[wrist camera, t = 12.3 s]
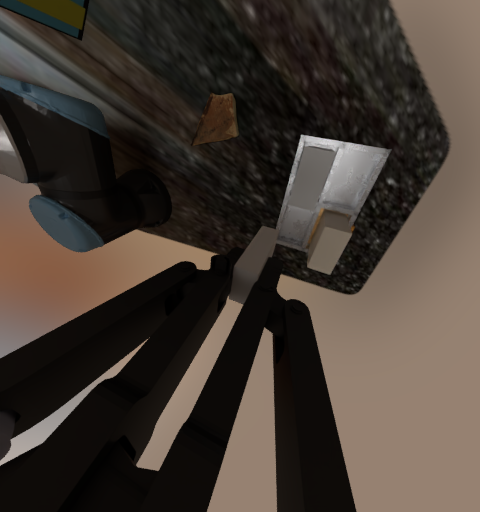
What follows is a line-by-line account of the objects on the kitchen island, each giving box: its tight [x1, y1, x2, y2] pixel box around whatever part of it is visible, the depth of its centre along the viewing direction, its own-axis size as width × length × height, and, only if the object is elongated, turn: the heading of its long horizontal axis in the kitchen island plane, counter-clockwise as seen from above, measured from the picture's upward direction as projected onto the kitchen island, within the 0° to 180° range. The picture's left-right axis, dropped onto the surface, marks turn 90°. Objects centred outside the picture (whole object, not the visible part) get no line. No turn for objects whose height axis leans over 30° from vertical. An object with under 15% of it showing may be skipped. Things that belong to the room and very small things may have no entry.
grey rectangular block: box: [288, 145, 336, 211], centre depth 31 cm, size 4×8×10 cm, turn 171°
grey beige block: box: [307, 209, 352, 275], centre depth 35 cm, size 4×8×10 cm, turn 171°
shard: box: [191, 93, 239, 146], centre depth 37 cm, size 11×8×2 cm
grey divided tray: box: [276, 135, 391, 253], centre depth 36 cm, size 14×20×3 cm
